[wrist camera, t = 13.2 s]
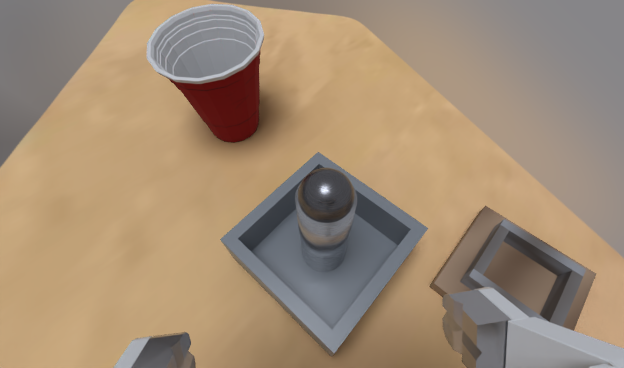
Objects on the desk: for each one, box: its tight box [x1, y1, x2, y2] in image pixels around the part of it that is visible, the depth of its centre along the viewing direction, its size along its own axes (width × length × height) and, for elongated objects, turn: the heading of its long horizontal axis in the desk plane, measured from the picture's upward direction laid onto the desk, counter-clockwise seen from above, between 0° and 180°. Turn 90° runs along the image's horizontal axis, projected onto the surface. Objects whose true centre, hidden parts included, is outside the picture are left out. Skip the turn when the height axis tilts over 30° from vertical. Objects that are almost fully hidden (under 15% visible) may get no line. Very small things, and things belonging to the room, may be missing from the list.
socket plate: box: [429, 206, 596, 331], centre depth 25 cm, size 10×10×3 cm
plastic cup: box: [147, 4, 264, 142], centre depth 32 cm, size 11×11×12 cm
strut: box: [295, 168, 357, 272], centre depth 23 cm, size 4×4×12 cm
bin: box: [220, 152, 428, 356], centre depth 26 cm, size 12×12×5 cm
